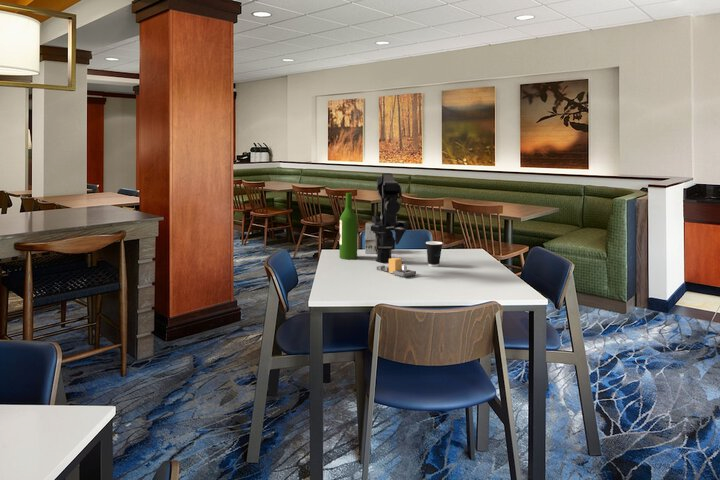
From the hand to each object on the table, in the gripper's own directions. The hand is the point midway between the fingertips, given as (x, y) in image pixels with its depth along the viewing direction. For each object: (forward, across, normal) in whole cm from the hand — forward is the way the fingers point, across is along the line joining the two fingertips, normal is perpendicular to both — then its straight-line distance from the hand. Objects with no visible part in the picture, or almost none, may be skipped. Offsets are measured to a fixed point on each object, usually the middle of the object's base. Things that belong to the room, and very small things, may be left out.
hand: (389, 245), depth 230 cm
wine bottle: (+12, -5, -34) cm, 37 cm away
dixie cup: (+12, -25, +5) cm, 28 cm away
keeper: (+11, +1, +11) cm, 16 cm away
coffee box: (+13, -25, -38) cm, 47 cm away
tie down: (+11, +1, +5) cm, 12 cm away
